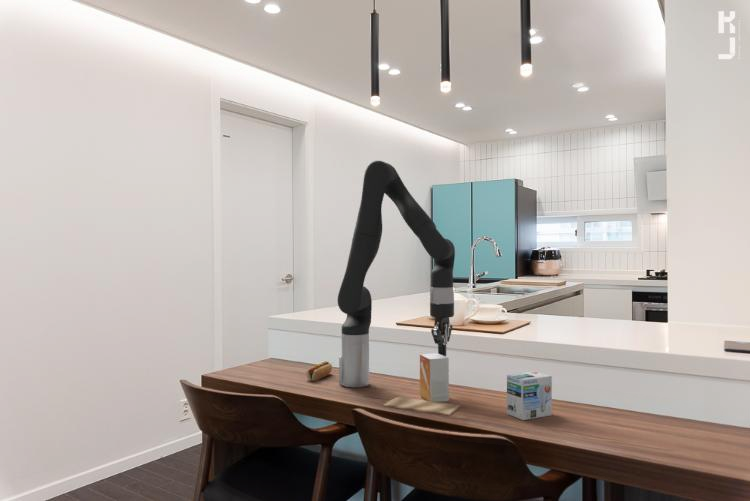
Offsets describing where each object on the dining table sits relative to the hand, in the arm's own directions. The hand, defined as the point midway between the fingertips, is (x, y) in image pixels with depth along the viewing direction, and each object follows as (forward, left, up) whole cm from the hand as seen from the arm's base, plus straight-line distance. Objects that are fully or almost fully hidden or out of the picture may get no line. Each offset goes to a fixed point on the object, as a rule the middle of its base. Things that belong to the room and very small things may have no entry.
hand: (442, 356), depth 167 cm
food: (-47, 0, -12) cm, 48 cm away
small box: (0, -7, -12) cm, 14 cm away
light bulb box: (+29, -10, -12) cm, 33 cm away
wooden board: (0, -16, -12) cm, 20 cm away
